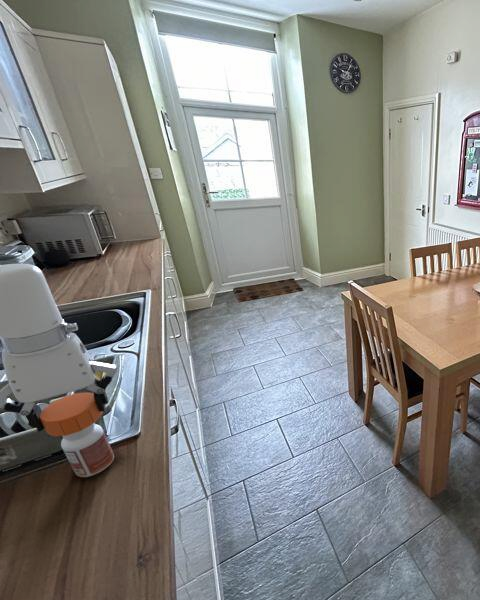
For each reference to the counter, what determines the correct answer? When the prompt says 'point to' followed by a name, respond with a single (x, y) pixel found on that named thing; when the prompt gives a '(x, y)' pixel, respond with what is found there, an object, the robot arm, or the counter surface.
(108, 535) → the counter surface
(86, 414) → the cap
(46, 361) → the robot arm
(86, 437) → the pill bottle
